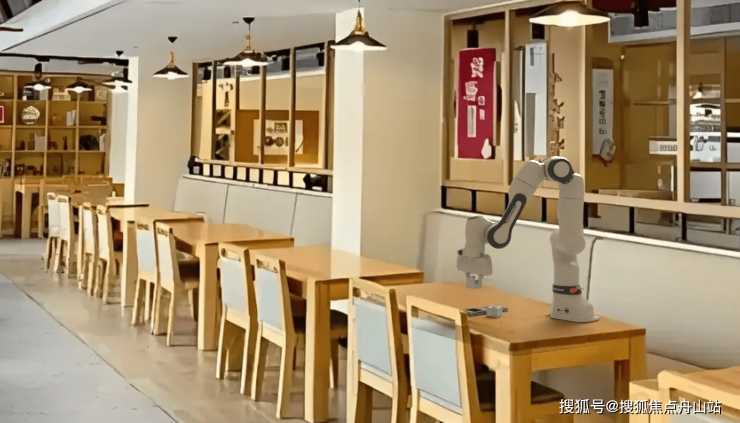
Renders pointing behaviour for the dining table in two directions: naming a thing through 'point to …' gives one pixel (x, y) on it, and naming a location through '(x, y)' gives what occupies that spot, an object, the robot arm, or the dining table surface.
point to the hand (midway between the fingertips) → (474, 283)
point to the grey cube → (472, 282)
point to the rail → (481, 310)
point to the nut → (494, 311)
